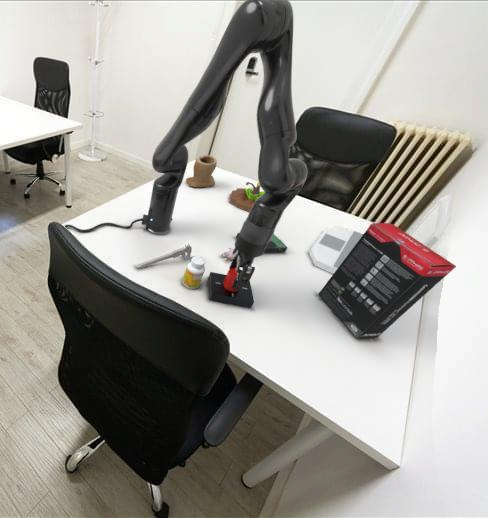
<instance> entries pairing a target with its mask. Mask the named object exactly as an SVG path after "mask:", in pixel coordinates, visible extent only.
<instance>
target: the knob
mask: <svg viewBox="0 0 488 518" xmlns="http://www.w3.org/2000/svg"><path fill="white" fill-rule="evenodd" d="M240 274H241V273H240ZM225 275H226V277H225V280H224V282H223V286H224V287H225V288H226V289H227V290H229V291H232V292H237V291H239V290H235V289H232V285H233V283H234V281H235V279H236V276H237V272H236V268H233V269H228V270H227V273H226V274H225Z"/></svg>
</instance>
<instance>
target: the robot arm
mask: <svg viewBox="0 0 488 518" xmlns="http://www.w3.org/2000/svg"><path fill="white" fill-rule="evenodd" d="M292 5H293V4H291V2H290V0H245V1H243V2H242V3H241V4H240V6H238V8H237V9H236V10H235V12H234V13H233V15H232V16H231V19H230V20H229V22H228V24H227V26H226V28H225V31H224V33H223V34H222V37H221V38H220V41H219V42H218V45H217V47H216V48H215V52H214V54H213V55H212V58H211V60H210V61H209V63H208V65H207V66H206V68H205V70H204V72H203V74H202V76H201V77H200V79H199V81H198V82H197V84H196V86H195V87H194V89H193V90H192V92H191V93H190V95H189V97H188V99H187V100H186V101H185V104H184V106H183V107H182V109H181V111H180V113H179V114H178V116H177V117H176V119H175V120H174V123H173V124H172V125H171V127H170V128H169V130H168V131H167V133H166V135H164V137H163V138H162V140H161V141H160V142H159V143H158V145H157V146H156V148H155V149H154V152H153V154H152V158H151V165H152V168H153V170H154V171H155V172H156V173H158V174H162V175H160V176H158V177H156V178H155V180H154V181H153V184H152V191H151V196H150V201H149V207H148V213H147V214H145V213H144V214H143V215H142V217H141V218H138V219H137V218H136V219H135V220H133V221H131V222H130V225H126V226H123V225H120V224H116V223H113V222H103V223H99V224H97V225H95V226H93V227H90V228H86V229H82V228H78V227H76V226H74V225H72V224H65V225H64V226H65V227H66V228H71V229H73V230H75V231H77V232H81V233H88V232H91V231H94V230H96V229H97V228H100V227H103V226H111V227H116V228H119V229H125V230H126V229H131V228H132V227H133V225H135V224H136V223H139V222H141V225H144V226H145V231H148V232H149V233H151V234H154V235H158V236H159V235H166V234H168V233H169V232H170V228H171V223H172V221H173V215H174V210H175V206H176V202H177V197H178V193H179V188H180V187H181V186H182V184H183V181H184V177H185V174H186V170H187V166H188V163H189V150H188V148H187V146H186V145H187V144H188V143H190V142H191V141H193V140H194V139H196V138H197V137H199V136H200V135H201V134H203V133H204V132H205V131H206V130H208V129H209V128H210V126H211V125H212V124H213V123H214V121H215V120H216V119H217V118H218V116H219V115H220V114H221V112H222V111H223V109H224V107H225V104H226V102H227V96H228V91H229V84H230V81H231V79H232V77H233V76H234V75H235V73H236V71H237V70H238V68H240V66H241V64H242V63H243V62H244V61H245V59H247V57H249V55H251V54H259V56H260V59H261V64H262V71H263V79H262V86H261V90H260V94H259V98H258V103H257V107H256V128H257V135H258V141H259V145H260V146H259V147H260V149H259V155H258V165H257V179H258V183H259V184H260V189H262V191H265V193H264V194H263V195H262V196H260V197H259V198H257V199H256V200H255V202H254V204H253V206H252V208H251V210H250V212H249V211H248V215H247V217H246V219H245V220H244V221H243V224H242V226H241V228H240V230H239V232H238V233H239V235H238V237H237V238H236V239H235V242H234V248H233V249H234V250H233V254H234V256H233V259H232V260H231V262H230V265H229V267H228V268H229V269H228V270H230V269H233V268H236V272H237V276H236V279H235V281H234V283H233V285H232V289H235V290H240V289H241V287H242V285H243V284H245V285H248V283H249V281H250V282H251V279H252V278H253V277H252V276H253V274H254V273H255V271H256V266H252V265H254V261H255V258H257V257H261V256H263V254H265V253H264V251H265V249H266V247H267V245H268V243H269V241H270V240H271V238H272V236H273V234H274V235H275V232H276V228H277V226H278V224H279V223H280V221H281V218H282V216H283V215H284V212H285V210H286V209H287V208H288V206H289V205H290V204H291V202H293V200H294V199H295V198H296V196H297V195H298V194H299V192H300V191H301V190H302V188H303V186H304V185H305V183H306V180H307V178H308V172H309V170H308V166H307V164H306V162H304V161H303V160H302V159H300V158H294V157H293V158H290V149H291V147H292V146H293V145H294V144H295V143H296V142H297V135H298V134H297V126H296V119H295V111H294V102H293V92H292V91H293V90H292V88H293V87H292V83H293V82H292V79H293V77H292V75H293V70H292V69H293V49H294V48H293V43H294V9H293V6H292ZM241 268H242V269H241ZM240 273H241V274H240Z"/></svg>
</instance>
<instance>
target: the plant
mask: <svg viewBox="0 0 488 518" xmlns="http://www.w3.org/2000/svg"><path fill="white" fill-rule="evenodd" d="M249 185H251V186H252V187H250V186H249ZM245 186H249V187H248V188H246V187H242V188H241V187H238V188H236V189H235V190H232V191H231V193H230V197H229V203H230V204H232V205H234V206H235V207H236V208H238V209H241V210H243V211H245V212H246V211H247V212H248V213H249V212H250V210H251V208H252V206H253V204H254V202H255V200H256V199H257V198H259V197H260V196H262V195H263V194H264V193H265V191H264V190H262V191H261V186H260V184H259V182H257V184H256V186H255V185H254V183H253V182H249V181H247V182H245Z"/></svg>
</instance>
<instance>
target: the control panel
mask: <svg viewBox="0 0 488 518" xmlns="http://www.w3.org/2000/svg"><path fill="white" fill-rule="evenodd" d="M226 275H227V274H224V273H220V272H214V271H209V275H208V278H207V286H208V287H207V288H208V301H211V302H216V303H222V304H225V305H232V306H236V307H241V308H245V309H252V307H253V305H254V303H255V298H254V295H253V288H252V285H251V280H250V281H249V283H248V285H245V284H243V285H242V287H241V289H240V290H239V291H237V292H232V291H229V290H227V289H226V288H225V287H224V286H223V282H224V280H225V277H226Z"/></svg>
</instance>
